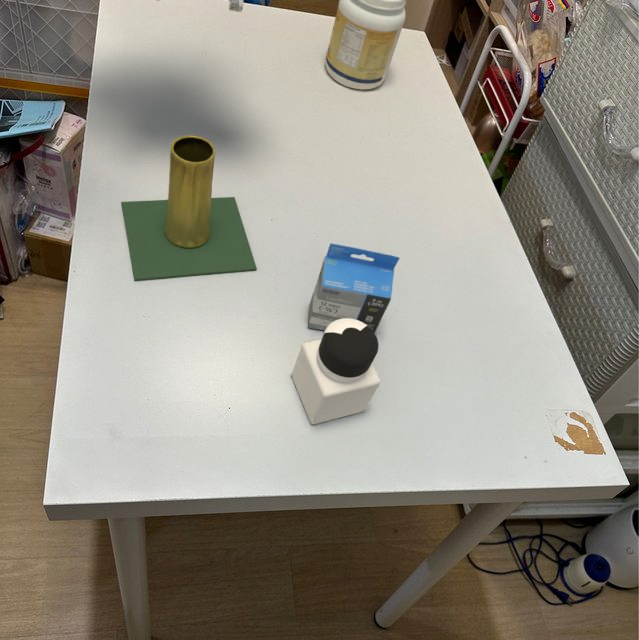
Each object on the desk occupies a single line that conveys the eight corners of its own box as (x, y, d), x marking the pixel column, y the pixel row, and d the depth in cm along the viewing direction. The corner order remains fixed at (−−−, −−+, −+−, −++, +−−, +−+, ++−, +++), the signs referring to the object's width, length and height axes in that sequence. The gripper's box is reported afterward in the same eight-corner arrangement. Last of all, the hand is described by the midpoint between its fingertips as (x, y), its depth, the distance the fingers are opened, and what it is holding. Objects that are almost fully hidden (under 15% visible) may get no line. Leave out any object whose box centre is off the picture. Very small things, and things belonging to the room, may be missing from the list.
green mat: (134, 281, 77) (134, 279, 76) (121, 203, 84) (121, 201, 84) (256, 270, 82) (256, 268, 82) (234, 198, 89) (234, 196, 89)
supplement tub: (340, 48, 122) (362, -41, 108) (393, 74, 120) (423, -13, 107) (312, 73, 114) (333, -19, 101) (369, 100, 113) (398, 11, 100)
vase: (212, 220, 85) (222, 137, 74) (206, 252, 82) (215, 170, 70) (168, 213, 84) (171, 127, 73) (160, 244, 81) (162, 160, 69)
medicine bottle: (364, 411, 73) (396, 358, 63) (310, 426, 70) (335, 372, 61) (342, 362, 76) (369, 305, 67) (290, 374, 73) (310, 316, 64)
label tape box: (306, 328, 78) (328, 266, 69) (308, 304, 81) (329, 240, 71) (371, 340, 79) (402, 280, 70) (372, 316, 82) (401, 255, 72)
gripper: (96, -165, 62) (97, -20, 64) (290, -125, 68) (285, 7, 70) (100, -131, 68) (102, 0, 70) (279, -97, 74) (275, 24, 76)
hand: (195, 4), depth 70 cm, fingers open, 8 cm apart
